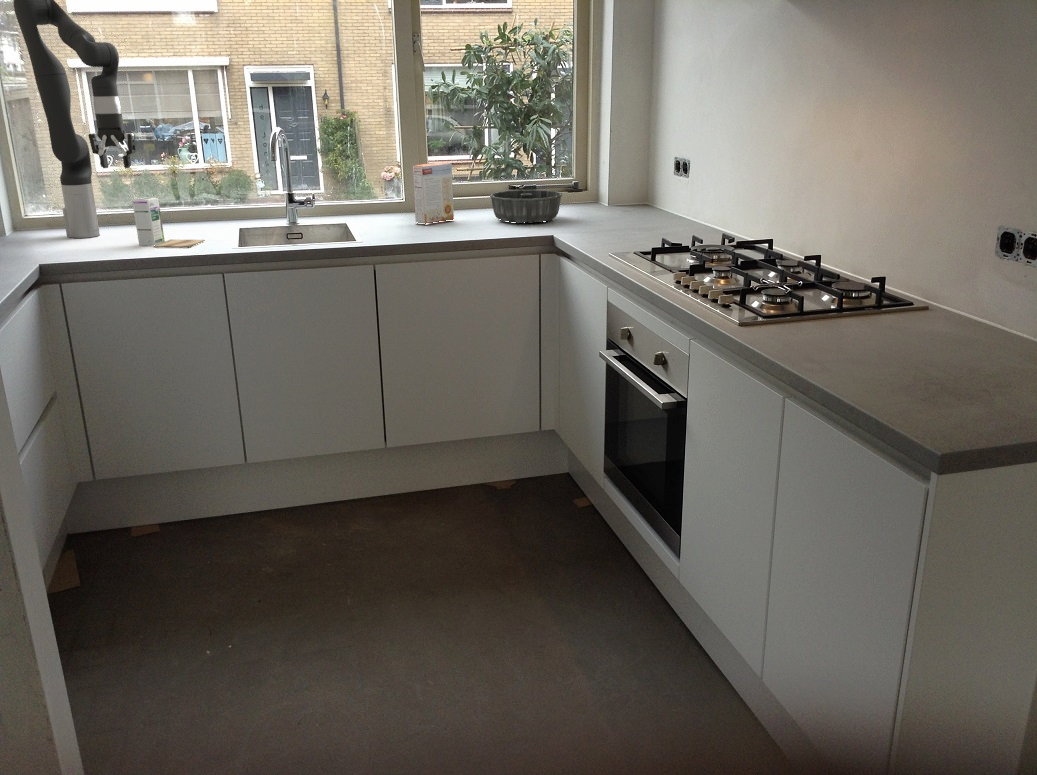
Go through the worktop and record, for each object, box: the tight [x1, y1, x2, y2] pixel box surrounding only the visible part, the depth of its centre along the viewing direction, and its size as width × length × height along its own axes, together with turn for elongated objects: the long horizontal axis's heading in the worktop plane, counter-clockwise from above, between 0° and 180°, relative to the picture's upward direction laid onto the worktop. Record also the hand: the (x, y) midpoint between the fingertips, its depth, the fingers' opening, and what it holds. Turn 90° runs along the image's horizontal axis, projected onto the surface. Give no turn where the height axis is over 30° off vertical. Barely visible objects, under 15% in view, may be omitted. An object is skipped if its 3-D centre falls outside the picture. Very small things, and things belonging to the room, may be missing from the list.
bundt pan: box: [489, 189, 563, 224], centre depth 329 cm, size 26×26×10 cm
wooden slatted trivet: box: [153, 238, 206, 248], centre depth 287 cm, size 12×12×1 cm
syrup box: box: [132, 196, 165, 246], centre depth 286 cm, size 6×6×14 cm
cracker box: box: [412, 162, 455, 224], centre depth 324 cm, size 14×6×21 cm, turn 136°
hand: (116, 167), depth 281 cm, fingers open, 6 cm apart
